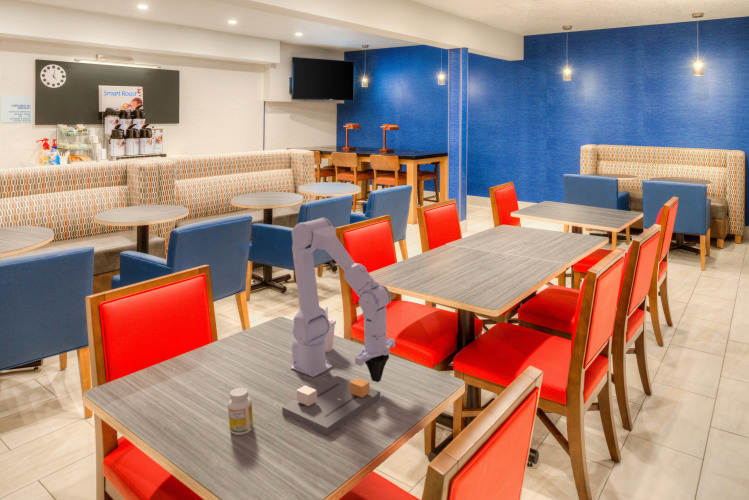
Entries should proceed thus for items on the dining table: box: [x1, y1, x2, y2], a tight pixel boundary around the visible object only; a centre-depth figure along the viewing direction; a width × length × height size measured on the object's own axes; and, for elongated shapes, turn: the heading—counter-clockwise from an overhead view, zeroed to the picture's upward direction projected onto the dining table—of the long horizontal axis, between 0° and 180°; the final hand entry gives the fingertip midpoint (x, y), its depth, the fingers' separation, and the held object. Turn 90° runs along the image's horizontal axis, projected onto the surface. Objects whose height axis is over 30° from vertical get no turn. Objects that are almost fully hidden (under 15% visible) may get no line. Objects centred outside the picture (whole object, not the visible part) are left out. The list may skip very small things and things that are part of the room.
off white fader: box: [296, 384, 317, 406], centre depth 130 cm, size 4×3×3 cm
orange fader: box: [350, 377, 370, 398], centre depth 133 cm, size 4×3×3 cm
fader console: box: [281, 375, 381, 436], centre depth 132 cm, size 15×20×2 cm
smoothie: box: [325, 306, 337, 353], centre depth 163 cm, size 6×6×14 cm
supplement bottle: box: [227, 387, 254, 436], centre depth 122 cm, size 5×5×10 cm
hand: (376, 380), depth 139 cm, fingers closed
